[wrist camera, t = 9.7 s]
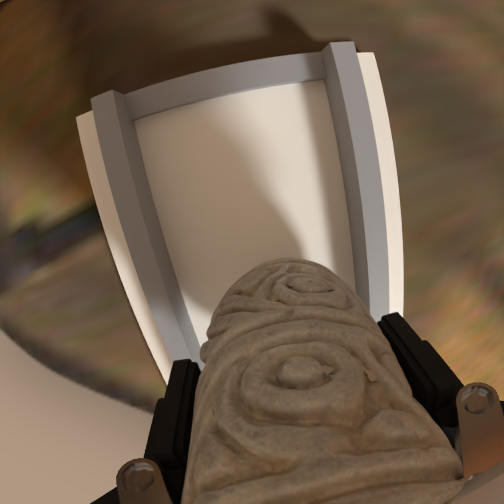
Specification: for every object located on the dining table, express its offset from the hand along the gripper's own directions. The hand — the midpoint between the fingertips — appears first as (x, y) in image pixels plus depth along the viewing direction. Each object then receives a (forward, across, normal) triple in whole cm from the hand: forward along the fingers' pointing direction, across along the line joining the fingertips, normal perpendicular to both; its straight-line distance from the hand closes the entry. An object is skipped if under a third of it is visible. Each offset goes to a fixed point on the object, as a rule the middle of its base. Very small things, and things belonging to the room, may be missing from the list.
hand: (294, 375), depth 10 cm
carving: (+4, 0, 0) cm, 4 cm away
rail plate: (+6, 0, 0) cm, 6 cm away
